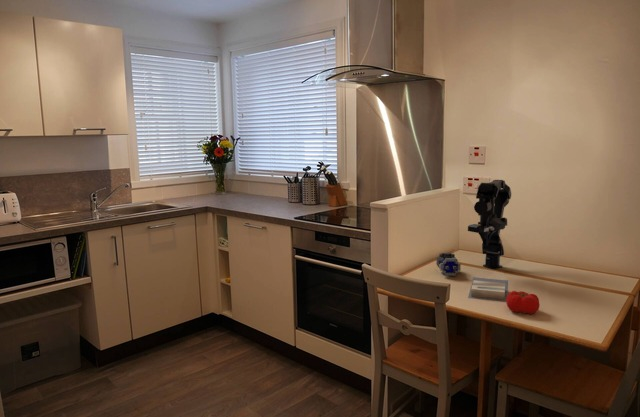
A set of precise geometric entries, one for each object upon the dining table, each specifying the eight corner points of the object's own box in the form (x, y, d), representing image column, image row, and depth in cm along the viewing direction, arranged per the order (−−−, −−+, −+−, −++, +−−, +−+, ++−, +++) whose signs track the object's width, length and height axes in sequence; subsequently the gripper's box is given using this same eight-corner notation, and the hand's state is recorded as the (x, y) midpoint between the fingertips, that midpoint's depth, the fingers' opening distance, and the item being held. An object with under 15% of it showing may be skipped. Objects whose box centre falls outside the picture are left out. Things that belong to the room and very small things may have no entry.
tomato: (537, 318, 160) (538, 300, 159) (503, 313, 165) (504, 295, 164) (540, 309, 168) (541, 291, 167) (507, 304, 173) (508, 287, 172)
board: (473, 279, 192) (471, 288, 181) (505, 282, 187) (504, 292, 176) (473, 287, 192) (471, 296, 181) (504, 290, 188) (504, 299, 177)
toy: (441, 260, 203) (435, 251, 218) (441, 279, 205) (435, 269, 219) (461, 260, 203) (454, 251, 218) (461, 279, 204) (454, 269, 219)
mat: (473, 278, 205) (473, 277, 205) (507, 281, 200) (507, 280, 200) (467, 298, 180) (467, 297, 180) (507, 303, 174) (507, 302, 174)
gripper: (488, 215, 196) (487, 251, 198) (516, 211, 206) (514, 245, 208) (467, 212, 205) (466, 247, 207) (494, 208, 215) (493, 241, 217)
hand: (485, 245), depth 210 cm, fingers closed
